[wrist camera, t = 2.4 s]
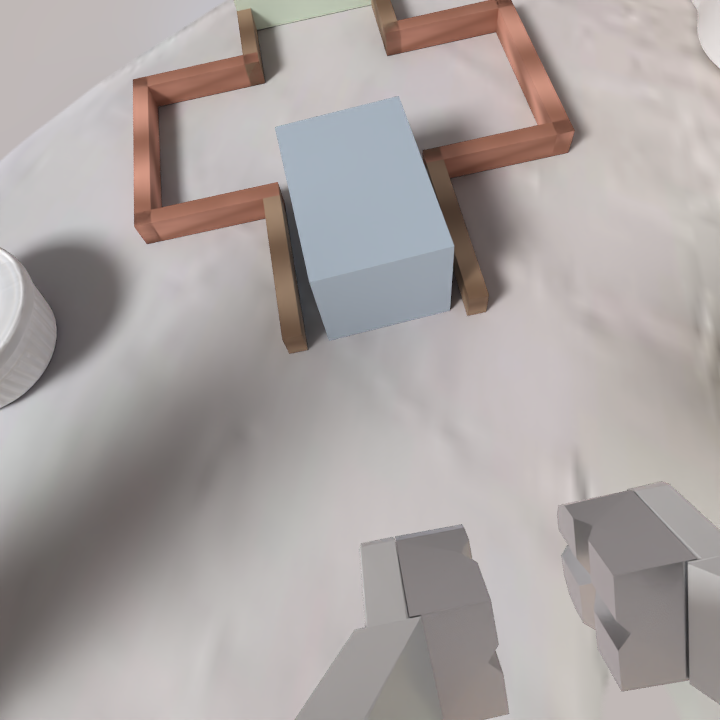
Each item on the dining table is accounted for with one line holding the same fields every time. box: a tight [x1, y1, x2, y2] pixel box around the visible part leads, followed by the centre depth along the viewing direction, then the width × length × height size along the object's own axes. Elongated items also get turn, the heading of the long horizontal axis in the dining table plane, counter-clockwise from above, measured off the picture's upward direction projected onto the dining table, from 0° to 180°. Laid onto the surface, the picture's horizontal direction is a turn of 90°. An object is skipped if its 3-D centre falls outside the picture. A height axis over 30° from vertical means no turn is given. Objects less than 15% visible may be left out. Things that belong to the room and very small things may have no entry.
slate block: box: [275, 96, 454, 341], centre depth 36 cm, size 12×8×7 cm, turn 13°
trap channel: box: [133, 0, 575, 354], centre depth 43 cm, size 32×31×2 cm
